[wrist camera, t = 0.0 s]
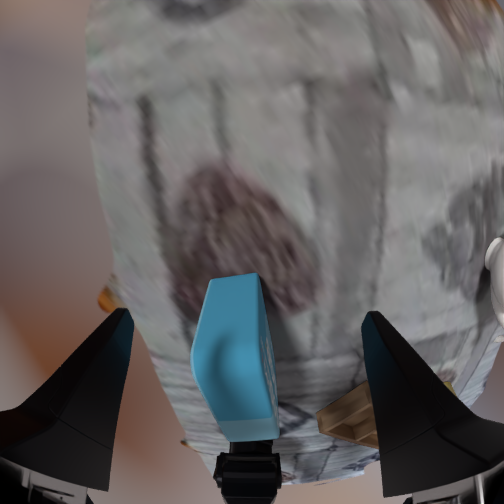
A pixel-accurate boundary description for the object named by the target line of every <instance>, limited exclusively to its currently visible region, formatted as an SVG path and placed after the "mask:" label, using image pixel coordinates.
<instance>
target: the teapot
mask: <svg viewBox="0 0 504 504" xmlns="http://www.w3.org/2000/svg"><path fill="white" fill-rule="evenodd" d="M485 267H486V269H488V270H489V271H490V275H491V284H490V294H491V301H492V305H493V309H494V312H495V315H496V317H497V319H498V322H499V323H500V325H501V326H502V328H503V329H504V239H502V238H500V237H499V238H496V239H495V240H493V242H492V243H491V244H490V246H489V247H488V249H487V252H486V255H485ZM498 342H504V335H502V336H498V337H497V338H496V339H495V341H494V343H498Z"/></svg>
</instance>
